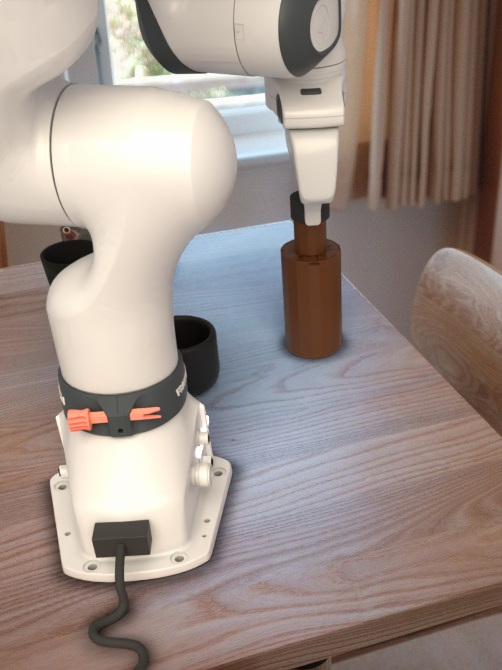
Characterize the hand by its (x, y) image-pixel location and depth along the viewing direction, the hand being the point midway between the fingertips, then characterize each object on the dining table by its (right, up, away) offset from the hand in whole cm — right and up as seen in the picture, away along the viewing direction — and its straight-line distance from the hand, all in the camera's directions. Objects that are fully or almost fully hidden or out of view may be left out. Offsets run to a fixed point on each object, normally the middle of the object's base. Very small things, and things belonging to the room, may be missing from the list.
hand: (309, 213), depth 106 cm
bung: (0, -2, +1) cm, 2 cm away
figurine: (-32, -6, +21) cm, 38 cm away
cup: (-29, -12, +13) cm, 34 cm away
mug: (-17, -20, +3) cm, 26 cm away
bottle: (0, -13, +11) cm, 17 cm away
